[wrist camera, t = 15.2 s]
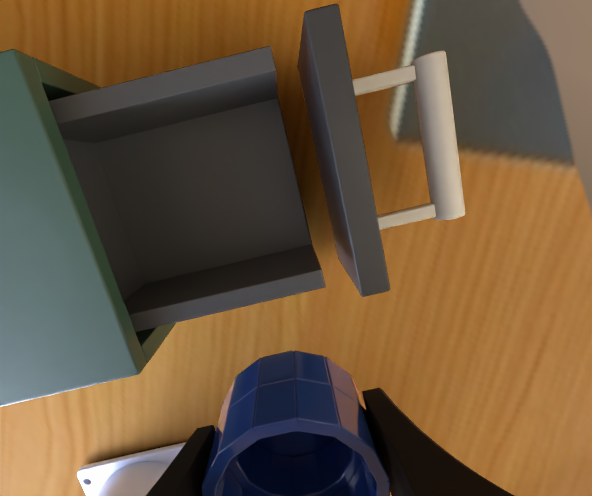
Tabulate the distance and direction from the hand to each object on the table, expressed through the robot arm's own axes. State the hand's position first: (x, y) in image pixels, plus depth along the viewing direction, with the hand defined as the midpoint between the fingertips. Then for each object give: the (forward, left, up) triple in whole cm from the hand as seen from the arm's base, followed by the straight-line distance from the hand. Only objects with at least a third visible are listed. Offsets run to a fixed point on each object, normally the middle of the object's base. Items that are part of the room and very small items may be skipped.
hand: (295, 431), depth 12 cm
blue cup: (0, 0, -1) cm, 1 cm away
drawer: (+8, -1, -8) cm, 12 cm away
